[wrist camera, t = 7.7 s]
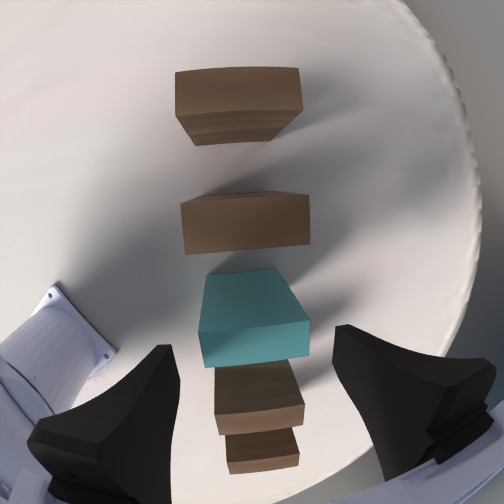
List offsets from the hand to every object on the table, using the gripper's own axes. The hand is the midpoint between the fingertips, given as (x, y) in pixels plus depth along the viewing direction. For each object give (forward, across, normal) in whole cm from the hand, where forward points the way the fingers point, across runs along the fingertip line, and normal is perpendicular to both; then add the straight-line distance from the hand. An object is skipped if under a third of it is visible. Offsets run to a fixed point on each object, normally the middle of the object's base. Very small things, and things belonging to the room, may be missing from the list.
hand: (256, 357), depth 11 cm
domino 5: (+9, 0, +11) cm, 14 cm away
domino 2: (+9, 0, -6) cm, 10 cm away
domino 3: (+9, 0, 0) cm, 9 cm away
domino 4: (+9, 0, +6) cm, 10 cm away
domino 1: (+9, 0, -11) cm, 14 cm away
